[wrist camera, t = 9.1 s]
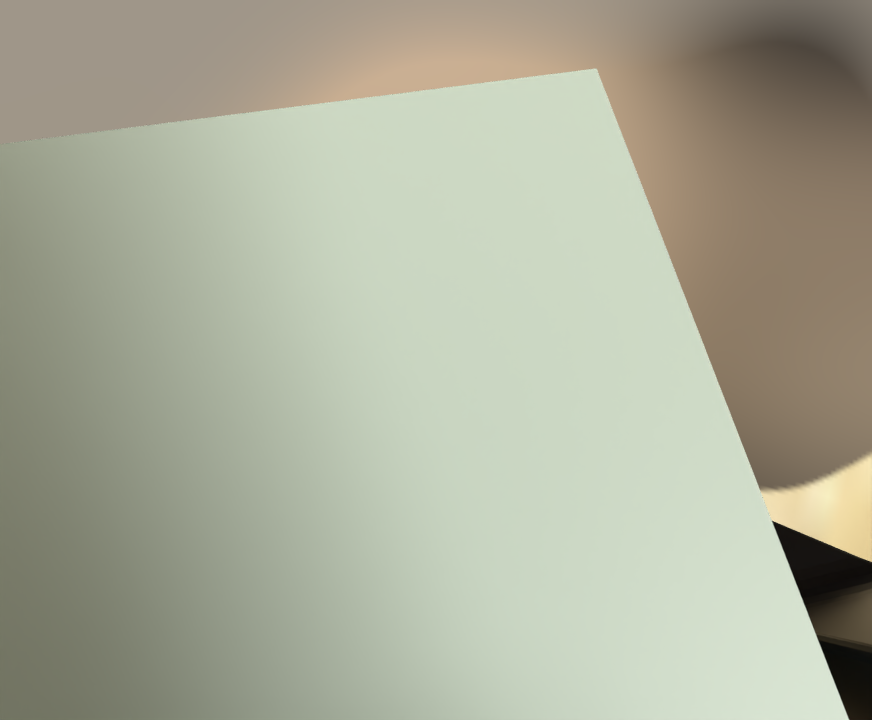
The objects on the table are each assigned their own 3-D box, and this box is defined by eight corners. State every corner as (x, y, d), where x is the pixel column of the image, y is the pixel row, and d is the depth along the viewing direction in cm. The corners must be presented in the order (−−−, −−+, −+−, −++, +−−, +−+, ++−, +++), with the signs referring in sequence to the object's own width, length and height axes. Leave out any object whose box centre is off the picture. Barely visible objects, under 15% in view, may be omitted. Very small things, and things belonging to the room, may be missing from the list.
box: (495, 592, 14) (948, 973, 2) (322, 630, 14) (-419, 1411, 2) (460, 423, 16) (596, 69, 4) (302, 453, 15) (-156, 164, 3)
